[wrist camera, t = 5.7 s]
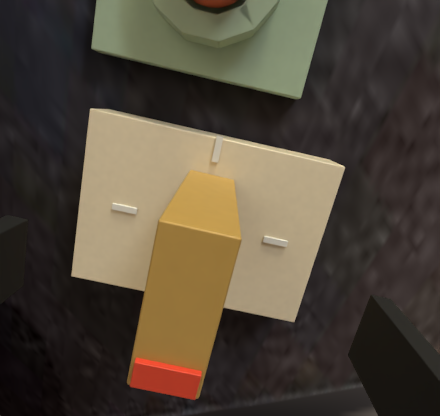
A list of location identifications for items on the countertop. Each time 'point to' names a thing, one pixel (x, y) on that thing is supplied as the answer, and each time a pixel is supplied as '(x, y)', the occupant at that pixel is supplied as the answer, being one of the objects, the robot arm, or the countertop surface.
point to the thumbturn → (186, 286)
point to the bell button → (215, 3)
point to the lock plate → (166, 189)
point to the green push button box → (216, 39)
